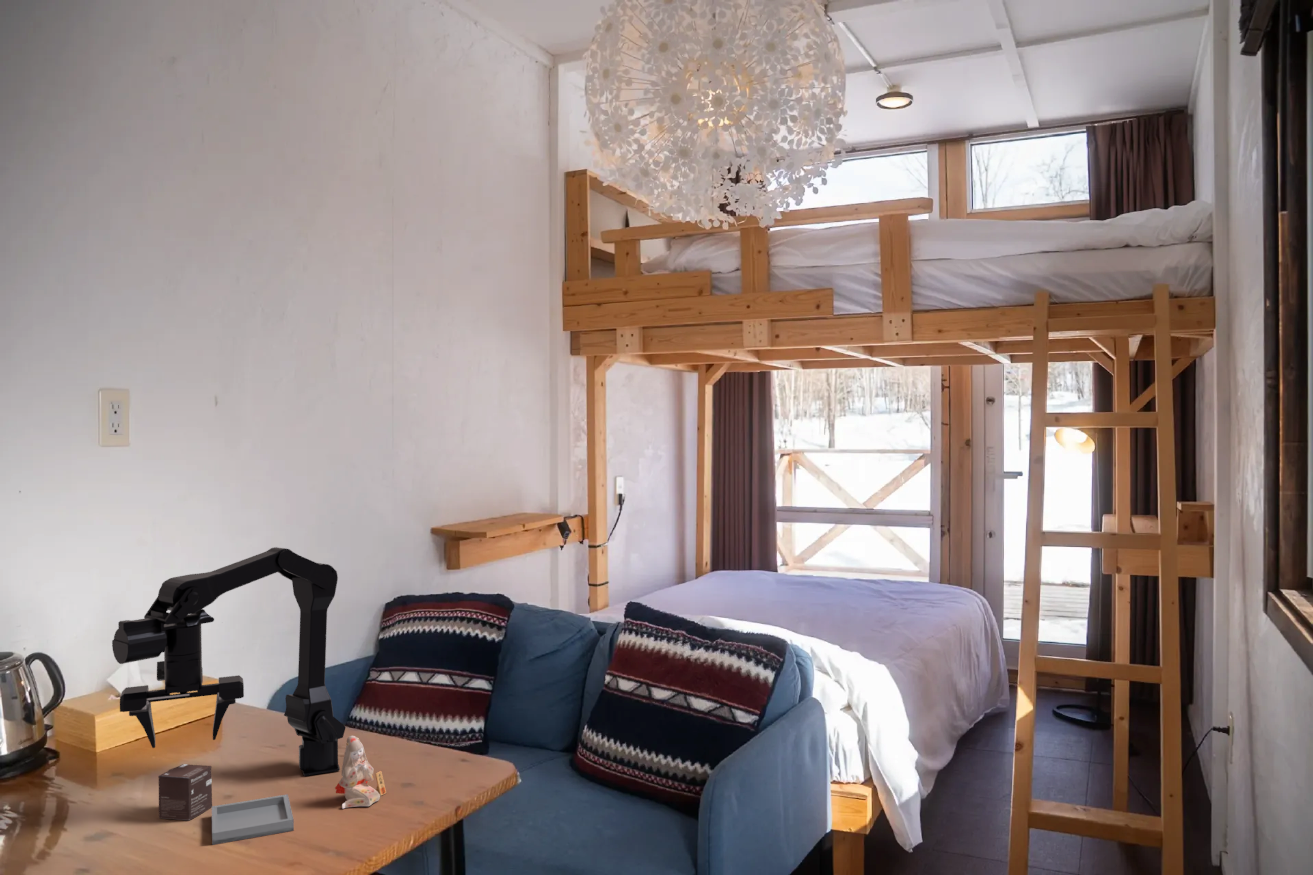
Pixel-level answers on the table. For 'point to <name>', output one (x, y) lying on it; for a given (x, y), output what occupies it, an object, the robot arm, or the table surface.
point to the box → (185, 792)
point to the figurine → (358, 777)
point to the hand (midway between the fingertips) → (184, 743)
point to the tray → (251, 819)
